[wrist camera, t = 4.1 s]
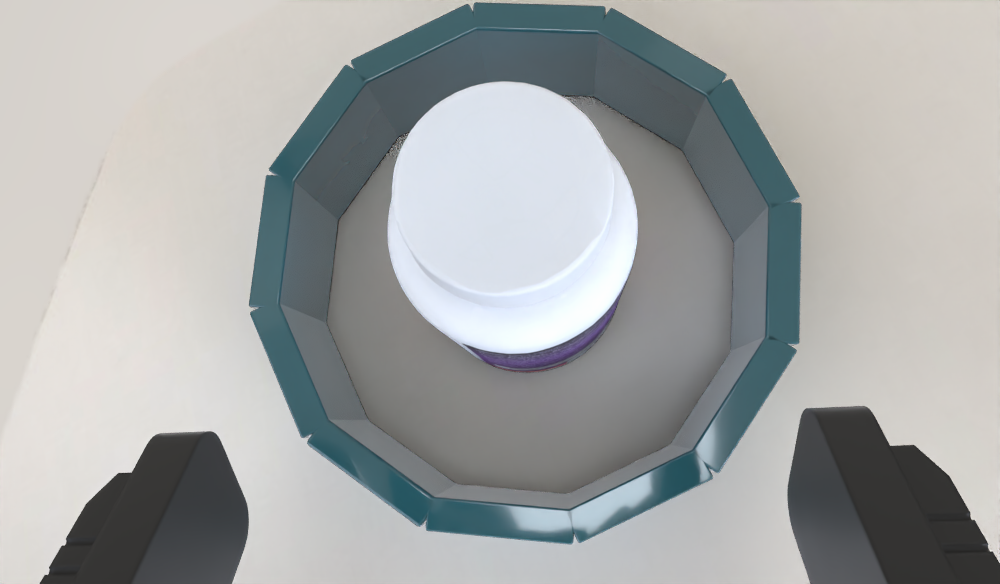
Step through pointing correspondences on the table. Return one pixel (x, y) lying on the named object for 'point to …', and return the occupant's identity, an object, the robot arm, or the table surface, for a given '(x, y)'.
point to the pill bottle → (512, 225)
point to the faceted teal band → (565, 71)
